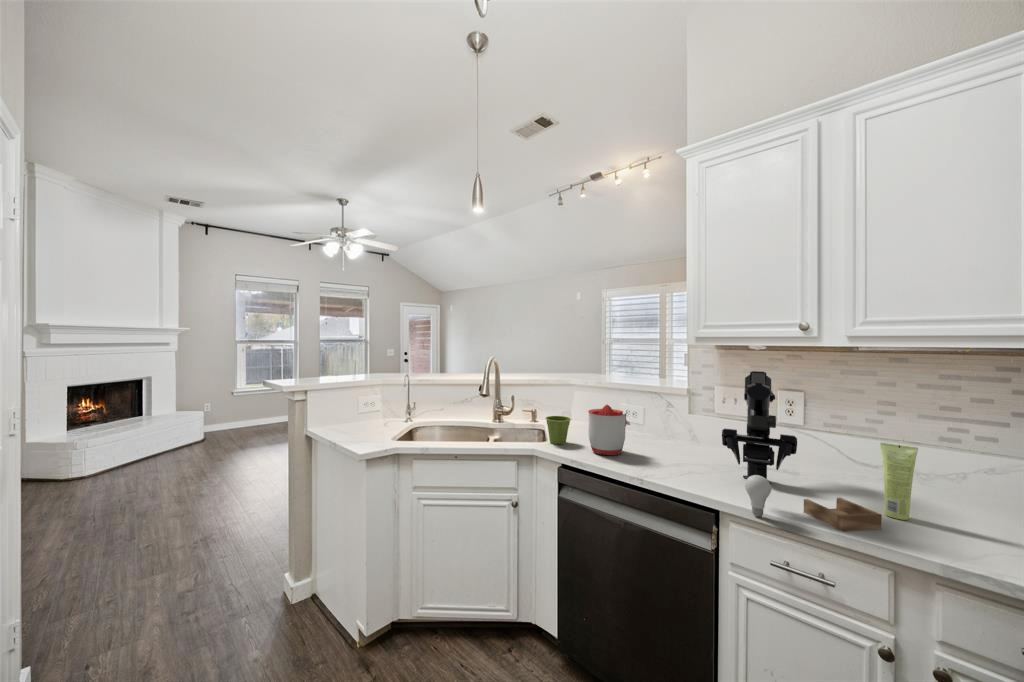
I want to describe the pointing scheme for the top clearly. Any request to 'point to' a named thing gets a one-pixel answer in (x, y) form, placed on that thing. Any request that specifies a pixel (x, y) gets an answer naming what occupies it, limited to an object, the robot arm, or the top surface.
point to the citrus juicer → (607, 430)
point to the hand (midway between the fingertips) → (757, 466)
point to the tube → (898, 478)
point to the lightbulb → (757, 493)
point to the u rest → (844, 515)
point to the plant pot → (558, 428)
